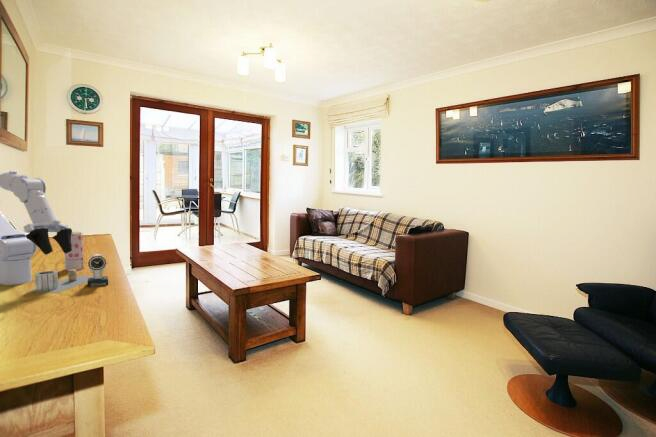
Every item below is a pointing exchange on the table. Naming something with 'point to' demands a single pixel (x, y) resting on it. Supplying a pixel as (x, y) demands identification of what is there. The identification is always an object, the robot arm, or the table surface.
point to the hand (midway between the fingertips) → (59, 252)
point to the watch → (97, 270)
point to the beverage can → (75, 253)
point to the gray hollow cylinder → (46, 280)
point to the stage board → (67, 284)
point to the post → (72, 275)
